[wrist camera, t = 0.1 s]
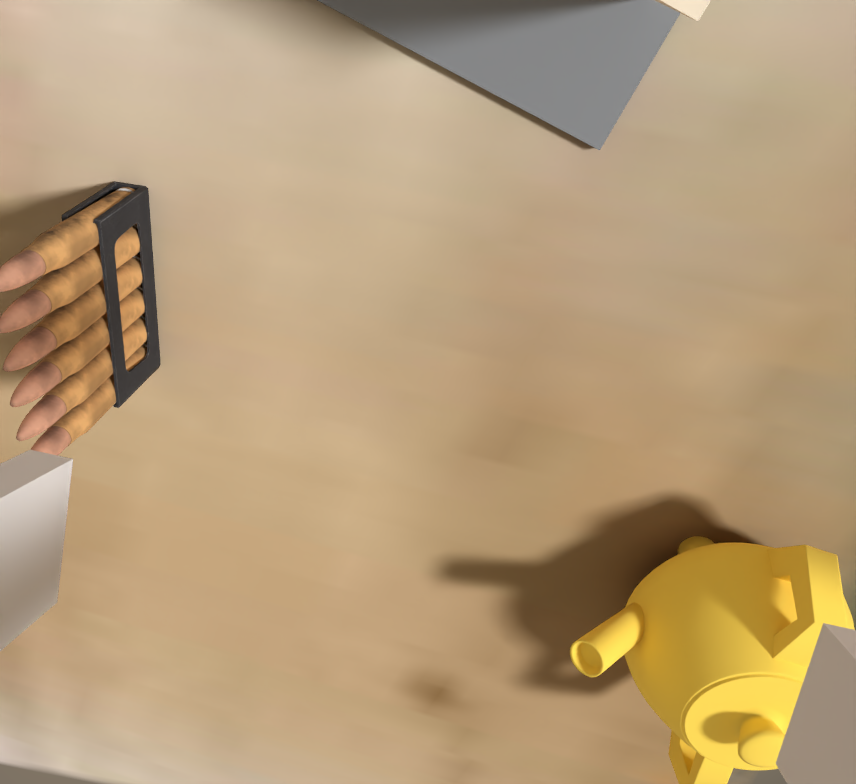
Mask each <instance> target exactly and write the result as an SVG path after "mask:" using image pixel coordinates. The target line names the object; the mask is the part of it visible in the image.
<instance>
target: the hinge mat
mask: <svg viewBox="0 0 856 784" xmlns="http://www.w3.org/2000/svg"><path fill="white" fill-rule="evenodd" d="M317 1H319V2H321V3H323V4H325V5H327V6H329V7H331V8H332V9H334V10H336V11H338V12H340V13H342V14H344V15H346V16H348V17H349V18H351V19H353V20H355V21H357V22H359V23H361V24H363V25H364V26H366V27H368V28H370V29H372V30H374V31H376V32H378V33H380V34H381V35H383V36H385V37H387V38H389V39H391V40H393V41H395V42H396V43H398V44H400V45H402V46H404V47H406V48H408V49H410V50H412V51H413V52H415V53H417V54H419V55H421V56H423V57H425V58H427V59H428V60H430V61H432V62H434V63H436V64H438V65H440V66H442V67H444V68H445V69H447V70H449V71H451V72H453V73H455V74H457V75H459V76H460V77H462V78H464V79H466V80H468V81H470V82H472V83H474V84H476V85H477V86H479V87H481V88H483V89H485V90H487V91H489V92H491V93H492V94H494V95H496V96H498V97H500V98H502V99H504V100H506V101H508V102H509V103H511V104H513V105H515V106H517V107H519V108H521V109H523V110H524V111H526V112H528V113H530V114H532V115H534V116H536V117H538V118H540V119H541V120H543V121H545V122H547V123H549V124H551V125H553V126H555V127H556V128H558V129H560V130H562V131H564V132H566V133H568V134H570V135H572V136H573V137H575V138H577V139H579V140H581V141H583V142H585V143H587V144H588V145H590V146H592V147H594V148H596V149H598V150H600V149H601V147H602V146H603V144H604V142H605V141H606V139H607V137H608V136H609V134H610V132H611V130H612V129H613V127H614V125H615V124H616V122H617V120H618V118H619V117H620V115H621V113H622V112H623V110H624V108H625V106H626V105H627V103H628V101H629V100H630V98H631V96H632V95H633V93H634V91H635V89H636V88H637V86H638V84H639V83H640V81H641V79H642V77H643V76H644V74H645V72H646V71H647V69H648V67H649V66H650V64H651V62H652V60H653V59H654V57H655V55H656V54H657V52H658V50H659V48H660V47H661V45H662V43H663V42H664V40H665V38H666V37H667V35H668V33H669V31H670V30H671V28H672V26H673V25H674V23H675V21H676V19H677V18H678V16H679V14H680V12H677V11H675V10H673V9H671V8H669V7H667V6H665V5H663V4H661V3H659V2H657V1H655V0H317Z"/></svg>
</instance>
